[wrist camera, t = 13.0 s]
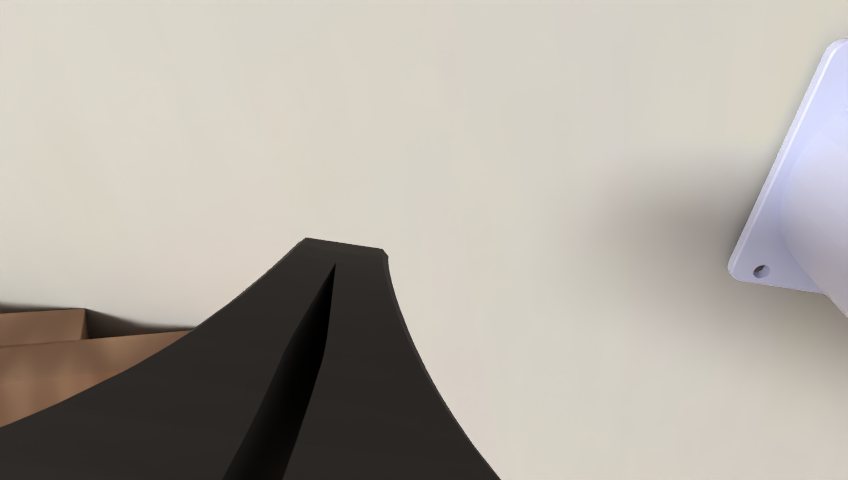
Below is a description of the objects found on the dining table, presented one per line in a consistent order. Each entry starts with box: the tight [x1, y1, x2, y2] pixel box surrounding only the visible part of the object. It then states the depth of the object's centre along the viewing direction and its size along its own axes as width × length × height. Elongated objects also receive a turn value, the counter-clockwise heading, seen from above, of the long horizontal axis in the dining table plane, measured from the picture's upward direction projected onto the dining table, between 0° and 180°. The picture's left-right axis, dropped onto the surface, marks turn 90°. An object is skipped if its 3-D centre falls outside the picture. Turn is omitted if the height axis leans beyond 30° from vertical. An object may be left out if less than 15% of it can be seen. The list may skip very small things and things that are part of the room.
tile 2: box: [0, 330, 191, 427], centre depth 23 cm, size 2×5×8 cm
